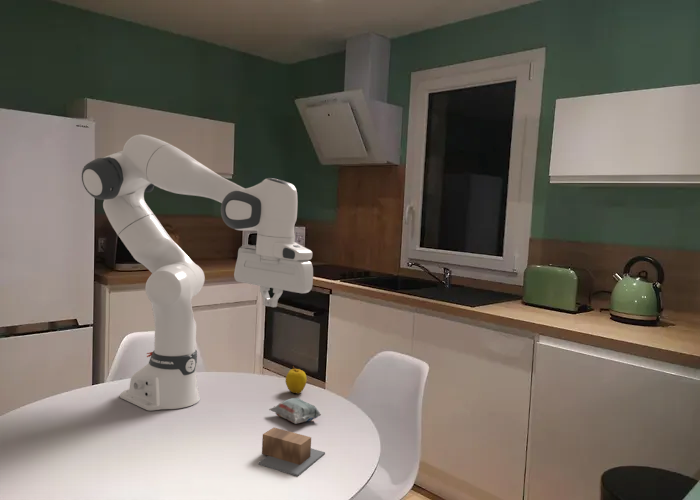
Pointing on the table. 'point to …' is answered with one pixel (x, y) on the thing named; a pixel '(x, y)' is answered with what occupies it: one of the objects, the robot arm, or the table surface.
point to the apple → (296, 380)
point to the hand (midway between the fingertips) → (269, 306)
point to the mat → (289, 466)
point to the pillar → (286, 445)
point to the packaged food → (296, 410)
